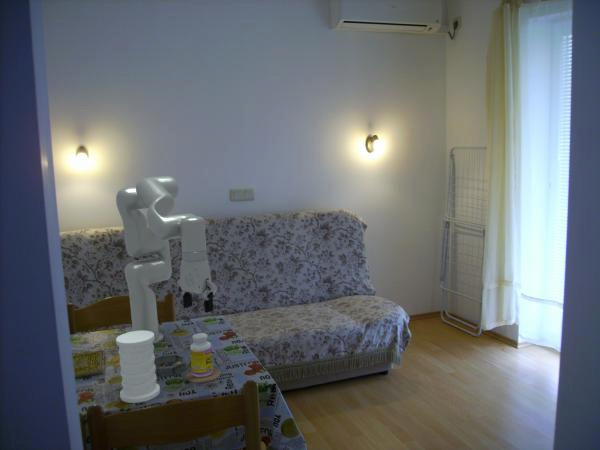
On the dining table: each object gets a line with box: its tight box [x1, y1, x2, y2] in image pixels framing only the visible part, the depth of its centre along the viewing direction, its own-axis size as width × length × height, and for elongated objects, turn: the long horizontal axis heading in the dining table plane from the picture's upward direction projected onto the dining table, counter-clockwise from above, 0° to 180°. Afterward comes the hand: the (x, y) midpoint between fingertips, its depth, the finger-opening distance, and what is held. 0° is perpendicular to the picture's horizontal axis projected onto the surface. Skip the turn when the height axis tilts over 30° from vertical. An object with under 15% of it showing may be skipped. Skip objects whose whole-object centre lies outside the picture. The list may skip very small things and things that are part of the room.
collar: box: [154, 353, 188, 377], centre depth 180 cm, size 12×12×3 cm
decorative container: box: [115, 331, 161, 404], centre depth 160 cm, size 12×12×18 cm
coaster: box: [185, 367, 221, 384], centre depth 173 cm, size 11×11×1 cm
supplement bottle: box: [189, 332, 214, 377], centre depth 172 cm, size 7×7×13 cm
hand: (198, 309), depth 170 cm, fingers open, 9 cm apart
